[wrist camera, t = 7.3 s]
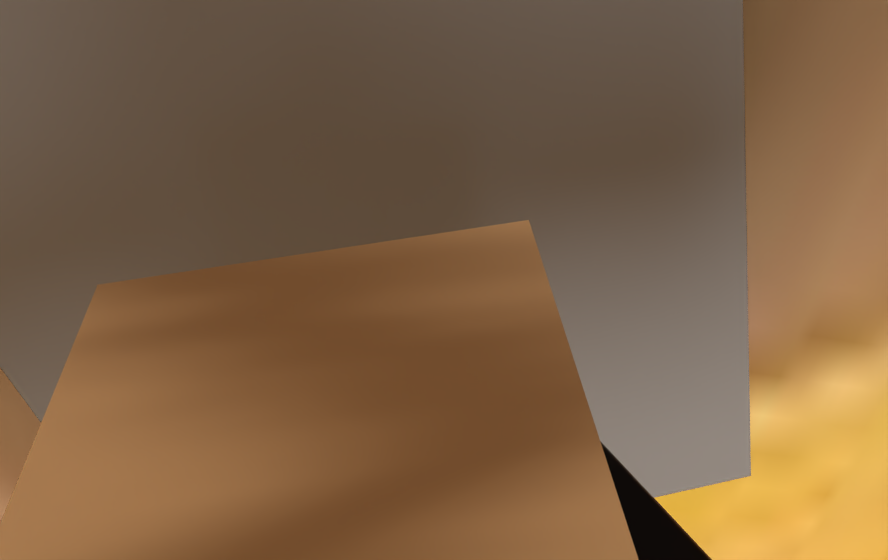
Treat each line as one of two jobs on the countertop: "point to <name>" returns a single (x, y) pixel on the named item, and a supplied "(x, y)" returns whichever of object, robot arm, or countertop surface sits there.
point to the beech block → (324, 415)
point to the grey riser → (400, 174)
